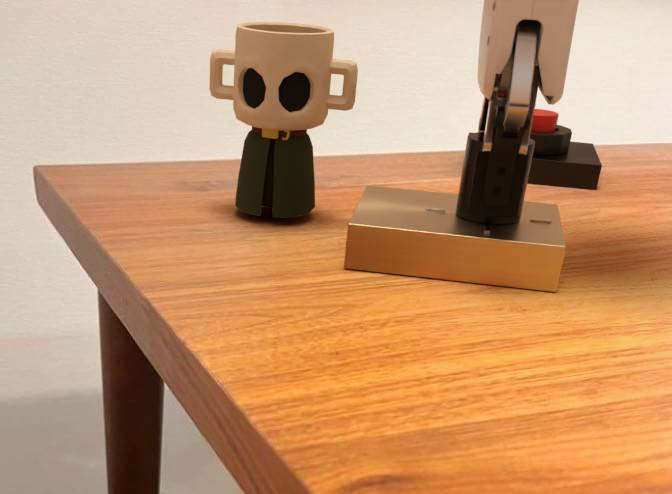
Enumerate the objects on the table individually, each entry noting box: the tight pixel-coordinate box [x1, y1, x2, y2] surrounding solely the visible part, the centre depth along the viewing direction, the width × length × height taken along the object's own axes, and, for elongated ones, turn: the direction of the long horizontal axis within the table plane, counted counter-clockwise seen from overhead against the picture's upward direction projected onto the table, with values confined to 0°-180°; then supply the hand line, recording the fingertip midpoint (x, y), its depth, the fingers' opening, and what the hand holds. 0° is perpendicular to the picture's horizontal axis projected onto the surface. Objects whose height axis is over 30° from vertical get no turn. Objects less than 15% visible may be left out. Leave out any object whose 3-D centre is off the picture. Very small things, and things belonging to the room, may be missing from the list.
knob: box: [456, 131, 535, 224], centre depth 65 cm, size 4×4×5 cm
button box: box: [468, 124, 603, 191], centre depth 91 cm, size 12×10×4 cm
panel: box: [343, 185, 567, 293], centre depth 68 cm, size 14×11×3 cm
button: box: [531, 108, 560, 132], centre depth 90 cm, size 4×4×2 cm
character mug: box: [209, 21, 359, 219], centre depth 72 cm, size 11×7×13 cm, turn 77°
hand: (490, 202), depth 66 cm, fingers closed on knob, 4 cm apart
